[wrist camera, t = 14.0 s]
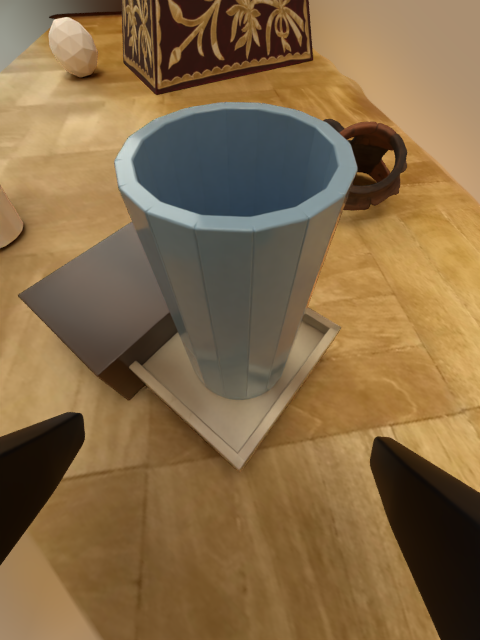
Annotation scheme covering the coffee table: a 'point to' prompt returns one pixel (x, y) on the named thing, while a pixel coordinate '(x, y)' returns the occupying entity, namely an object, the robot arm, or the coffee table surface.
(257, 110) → the tall blue mug
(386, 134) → the brown hollow shell
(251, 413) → the walnut box
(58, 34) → the geometric ball
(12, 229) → the cup
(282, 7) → the decorative box
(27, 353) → the coffee table surface
